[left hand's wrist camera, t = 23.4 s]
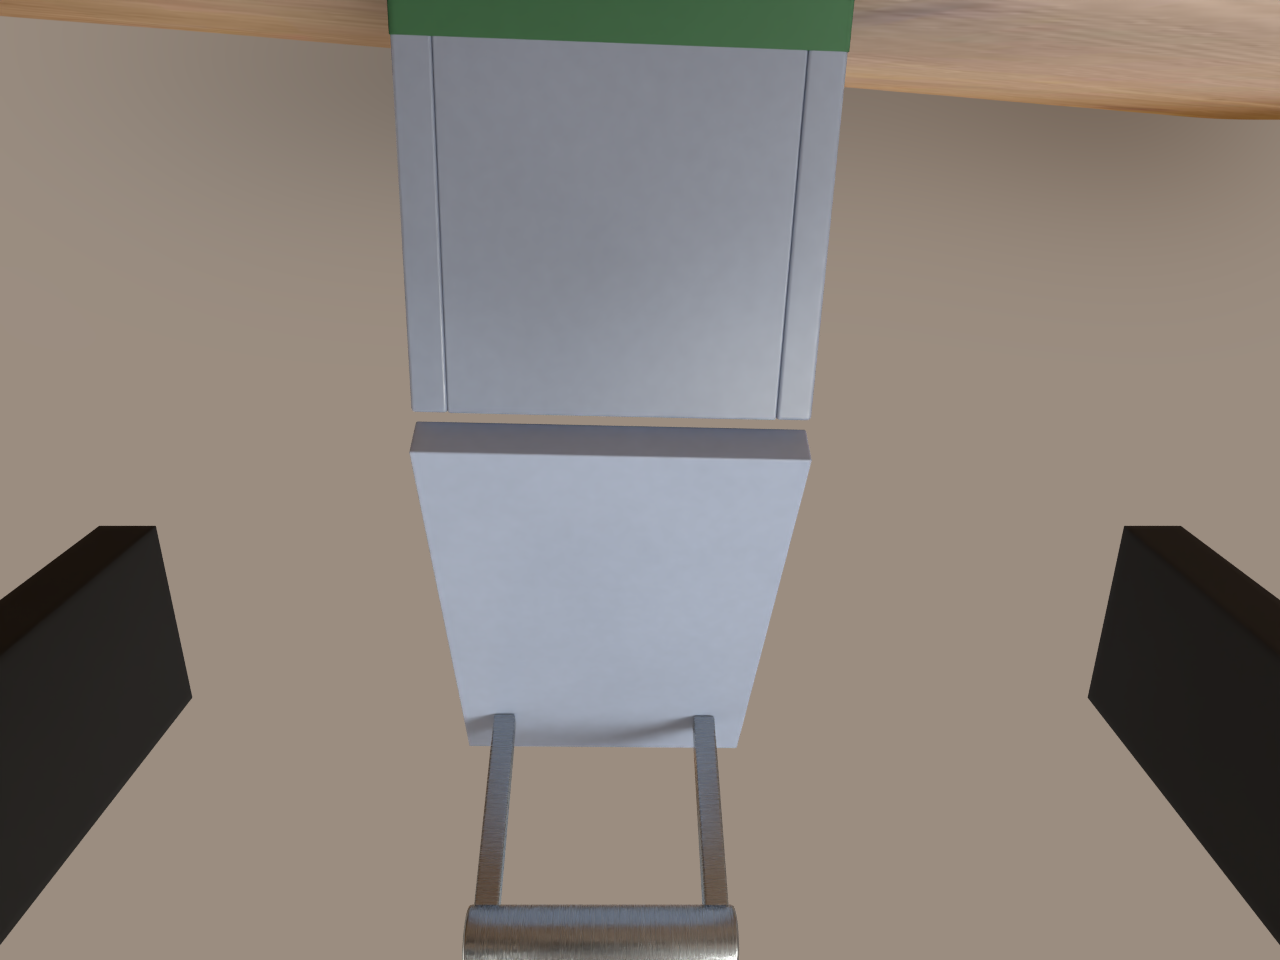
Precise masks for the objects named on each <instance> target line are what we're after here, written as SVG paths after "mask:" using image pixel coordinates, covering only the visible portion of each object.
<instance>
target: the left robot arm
mask: <svg viewBox="0 0 1280 960" xmlns="http://www.w3.org/2000/svg"><path fill="white" fill-rule="evenodd" d="M191 699H192V694H191V689H190V685H189V680H188V675H187V671H186V666H185V661H184V657H183V652H182V647H181V643H180V638H179V633H178V628H177V624H176V619H175V614H174V609H173V605H172V600H171V595H170V591H169V586H168V581H167V577H166V572H165V567H164V562H163V558H162V553H161V548H160V544H159V539H158V534H157V530H156V526H99V527H97V528H96V529H95V530H93V531H92V532H91V533H89V534H88V535H87V536H85V537H84V538H83V539H81V540H80V541H78V542H77V543H76V544H74V545H73V546H72V547H70V548H69V549H68V550H67V551H65V552H64V553H63V554H61V555H60V556H58V557H57V558H56V559H54V560H53V561H52V562H51V563H49V564H48V565H46V566H45V567H44V568H42V569H41V570H40V571H38V572H37V573H36V574H35V575H33V576H32V577H30V578H29V579H28V580H26V581H25V582H24V583H22V584H21V585H20V586H18V587H17V588H16V589H14V590H13V591H12V592H10V593H9V594H8V595H6V596H5V597H4V598H2V599H1V600H0V944H1V943H2V942H3V940H4V939H5V938H6V937H7V935H8V934H9V933H10V932H11V930H12V929H13V928H14V926H15V925H16V924H17V923H18V921H19V920H20V919H21V917H22V916H23V915H24V914H25V912H26V911H27V910H28V908H29V907H30V906H31V904H32V903H33V902H34V901H35V899H36V898H37V897H38V895H39V894H40V893H41V892H42V890H43V889H44V888H45V886H46V885H47V884H48V883H49V881H50V880H51V879H52V877H53V876H54V875H55V874H56V872H57V871H58V870H59V868H60V867H61V866H62V865H63V863H64V862H65V861H66V859H67V858H68V857H69V856H70V854H71V853H72V852H73V850H74V849H75V848H76V847H77V845H78V844H79V843H80V841H81V840H82V839H83V837H84V836H85V835H86V834H87V832H88V831H89V830H90V829H91V827H92V826H93V825H94V823H95V822H96V821H97V820H98V818H99V817H100V816H101V814H102V813H103V812H104V810H105V809H106V808H107V807H108V805H109V804H110V803H111V802H112V800H113V799H114V798H115V796H116V795H117V794H118V793H119V791H120V790H121V789H122V787H123V786H124V785H125V783H126V782H127V781H128V780H129V778H130V777H131V776H132V774H133V773H134V772H135V771H136V769H137V768H138V767H139V765H140V764H141V763H142V762H143V760H144V759H145V758H146V756H147V755H148V754H149V753H150V751H151V750H152V749H153V747H154V746H155V745H156V744H157V742H158V741H159V740H160V738H161V737H162V736H163V735H164V733H165V732H166V731H167V729H168V728H169V727H170V726H171V724H172V723H173V722H174V720H175V719H176V718H177V717H178V715H179V714H180V713H181V711H182V710H183V709H184V708H185V706H186V705H187V704H188V702H189V701H190V700H191ZM1088 699H1089V700H1090V701H1091V702H1092V704H1093V705H1094V706H1095V708H1096V709H1097V710H1098V711H1099V713H1100V714H1101V715H1102V717H1103V718H1104V719H1105V720H1106V722H1107V723H1108V724H1109V726H1110V727H1111V728H1112V729H1113V731H1114V732H1115V733H1116V735H1117V736H1118V737H1119V738H1120V740H1121V741H1122V742H1123V744H1124V745H1125V746H1126V747H1127V749H1128V750H1129V751H1130V753H1131V754H1132V755H1133V756H1134V758H1135V759H1136V760H1137V762H1138V763H1139V764H1140V765H1141V767H1142V768H1143V769H1144V771H1145V772H1146V773H1147V774H1148V776H1149V777H1150V778H1151V780H1152V781H1153V782H1154V783H1155V785H1156V786H1157V787H1158V789H1159V790H1160V791H1161V792H1162V794H1163V795H1164V796H1165V798H1166V799H1167V800H1168V801H1169V803H1170V804H1171V805H1172V807H1173V808H1174V809H1175V810H1176V812H1177V813H1178V814H1179V816H1180V817H1181V818H1182V820H1183V821H1184V822H1185V823H1186V825H1187V826H1188V827H1189V829H1190V830H1191V831H1192V832H1193V834H1194V835H1195V836H1196V838H1197V839H1198V840H1199V841H1200V843H1201V844H1202V845H1203V847H1204V848H1205V849H1206V850H1207V852H1208V853H1209V854H1210V856H1211V857H1212V858H1213V859H1214V861H1215V862H1216V863H1217V865H1218V866H1219V867H1220V868H1221V870H1222V871H1223V872H1224V874H1225V875H1226V876H1227V877H1228V879H1229V880H1230V881H1231V883H1232V884H1233V885H1234V886H1235V888H1236V889H1237V890H1238V892H1239V893H1240V894H1241V895H1242V897H1243V898H1244V899H1245V901H1246V902H1247V903H1248V904H1249V906H1250V907H1251V908H1252V910H1253V911H1254V912H1255V913H1256V915H1257V916H1258V917H1259V919H1260V920H1261V921H1262V923H1263V924H1264V925H1265V926H1266V928H1267V929H1268V930H1269V932H1270V933H1271V934H1272V935H1273V937H1274V938H1275V939H1276V941H1277V942H1278V943H1279V944H1280V600H1279V599H1278V598H1276V597H1275V596H1274V595H1272V594H1271V593H1270V592H1268V591H1267V590H1266V589H1264V588H1263V587H1262V586H1260V585H1259V584H1258V583H1256V582H1255V581H1254V580H1252V579H1251V578H1250V577H1248V576H1247V575H1246V574H1244V573H1243V572H1242V571H1240V570H1239V569H1238V568H1236V567H1235V566H1234V565H1232V564H1231V563H1230V562H1228V561H1227V560H1226V559H1224V558H1223V557H1222V556H1220V555H1219V554H1217V553H1216V552H1215V551H1214V550H1212V549H1211V548H1210V547H1208V546H1207V545H1205V544H1204V543H1203V542H1202V541H1200V540H1199V539H1198V538H1196V537H1195V536H1193V535H1192V534H1191V533H1189V532H1188V531H1187V530H1185V529H1184V528H1183V527H1181V526H1124V530H1123V534H1122V539H1121V544H1120V548H1119V553H1118V558H1117V562H1116V567H1115V572H1114V577H1113V581H1112V586H1111V591H1110V595H1109V600H1108V605H1107V609H1106V614H1105V619H1104V624H1103V628H1102V633H1101V638H1100V642H1099V647H1098V652H1097V657H1096V661H1095V666H1094V671H1093V675H1092V680H1091V685H1090V689H1089V694H1088Z"/></svg>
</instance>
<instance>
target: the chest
mask: <svg viewBox="0 0 1280 960" xmlns="http://www.w3.org/2000/svg"><path fill="white" fill-rule="evenodd" d="M387 8H388V25H389V34H390V37H391V54H392V72H393V89H394V107H395V125H396V142H397V160H398V178H399V195H400V213H401V230H402V248H403V265H404V283H405V301H406V318H407V336H408V354H409V371H410V389H411V407H412V410H413V411H415V412H446V411H447V410H448V412H450V413H483V414H529V415H575V416H621V417H666V418H712V419H759V420H774V419H775V418H777V419H780V420H809V419H810V417H811V411H812V402H813V392H814V382H815V372H816V362H817V352H818V342H819V332H820V322H821V312H822V302H823V292H824V282H825V272H826V262H827V252H828V242H829V232H830V222H831V212H832V203H833V193H834V182H835V173H836V163H837V153H838V143H839V133H840V123H841V113H842V103H843V93H844V83H845V73H846V63H847V53H848V52H849V48H850V38H851V28H852V18H853V8H854V0H387Z"/></svg>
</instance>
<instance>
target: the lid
mask: <svg viewBox="0 0 1280 960" xmlns="http://www.w3.org/2000/svg"><path fill="white" fill-rule="evenodd" d="M410 457H411V462H412V467H413V472H414V477H415V482H416V487H417V492H418V496H419V501H420V506H421V511H422V516H423V521H424V526H425V530H426V535H427V540H428V545H429V550H430V555H431V560H432V565H433V570H434V574H435V579H436V584H437V589H438V594H439V599H440V604H441V609H442V613H443V618H444V623H445V628H446V633H447V638H448V643H449V648H450V653H451V657H452V662H453V667H454V672H455V677H456V682H457V687H458V691H459V696H460V701H461V706H462V711H463V716H464V721H465V726H466V731H467V735H468V740H469V745H470V746H491V750H490V759H489V769H488V778H487V788H486V798H485V807H484V817H483V826H482V836H481V846H480V856H479V865H478V875H477V884H476V894H475V904H474V905H470V906H469V908H468V910H467V914H466V919H465V926H464V935H463V950H462V960H739V935H738V923H737V916H736V912H735V909H734V907H733V906H732V905H728V893H727V880H726V866H725V853H724V840H723V826H722V813H721V800H720V787H719V773H718V760H717V748H736V747H737V744H738V740H739V736H740V732H741V729H742V725H743V721H744V717H745V713H746V709H747V705H748V702H749V698H750V694H751V690H752V686H753V683H754V679H755V675H756V671H757V667H758V663H759V660H760V656H761V652H762V648H763V644H764V641H765V637H766V633H767V629H768V625H769V621H770V617H771V614H772V610H773V606H774V602H775V598H776V594H777V591H778V587H779V583H780V579H781V575H782V571H783V568H784V564H785V560H786V556H787V552H788V549H789V545H790V541H791V537H792V533H793V530H794V525H795V522H796V518H797V514H798V510H799V506H800V503H801V499H802V495H803V491H804V487H805V483H806V480H807V476H808V472H809V468H810V464H811V455H810V450H809V445H808V440H807V435H806V431H805V430H784V429H737V428H691V427H644V426H597V425H551V424H502V423H457V422H416V425H415V430H414V434H413V439H412V443H411V448H410ZM514 746H568V747H694V763H695V781H696V799H697V816H698V834H699V852H700V869H701V887H702V905H501V894H502V882H503V870H504V859H505V847H506V836H507V824H508V812H509V800H510V788H511V777H512V765H513V754H514Z"/></svg>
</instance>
